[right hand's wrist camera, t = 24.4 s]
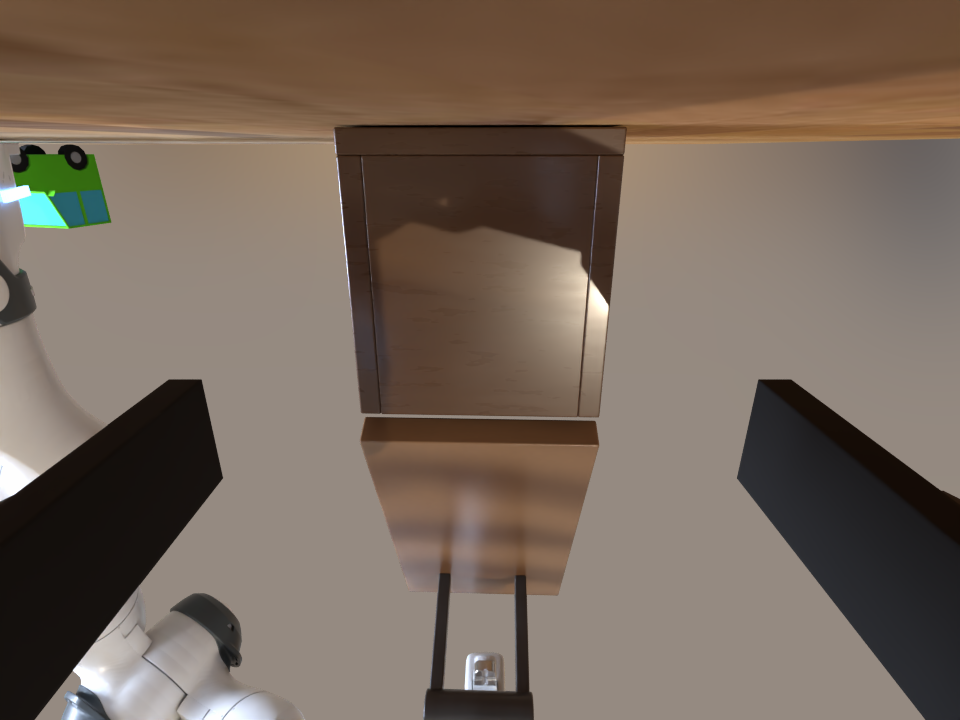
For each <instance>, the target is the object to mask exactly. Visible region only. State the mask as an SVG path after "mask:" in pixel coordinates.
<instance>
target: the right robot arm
mask: <svg viewBox="0 0 960 720" xmlns="http://www.w3.org/2000/svg"><path fill="white" fill-rule="evenodd" d="M222 479H223V476H222V472H221V467H220V462H219V458H218V453H217V448H216V444H215V439H214V435H213V430H212V426H211V421H210V416H209V412H208V407H207V403H206V398H205V393H204V389H203V384H202V380H168V381H166V382H165V383H164V384H162V385H161V386H160V387H158V388H157V389H156V390H154V391H153V392H152V393H150V394H149V395H148V396H146V397H145V398H143V399H142V400H141V401H140V402H138V403H137V404H135V405H134V406H133V407H131V408H130V409H129V410H127V411H126V412H125V413H123V414H122V415H121V416H119V417H118V418H116V419H115V420H114V421H112V422H111V423H110V424H108V425H107V426H106V427H104V428H103V429H102V430H100V431H99V432H98V433H96V434H95V435H94V436H92V437H91V438H90V439H88V440H87V441H86V442H84V443H83V444H81V445H80V446H79V447H77V448H76V449H75V450H73V451H72V452H71V453H69V454H68V455H67V456H65V457H64V458H63V459H61V460H60V461H59V462H57V463H56V464H55V465H53V466H52V467H50V468H49V469H48V470H46V471H45V472H44V473H42V474H41V475H40V476H38V477H37V478H36V479H34V480H33V481H32V482H30V483H29V484H28V485H26V486H25V487H24V488H22V489H21V490H19V491H18V492H17V493H15V494H14V495H12V496H10V497H8V498H6V499H4V500H2V501H0V720H35V718H36V717H37V716H38V715H39V713H40V712H41V711H42V709H43V708H44V707H45V706H46V704H47V703H48V702H49V700H50V699H51V698H52V697H53V695H54V694H55V693H56V691H57V690H58V689H59V688H60V686H61V685H62V684H63V683H64V681H65V680H66V679H67V677H68V676H69V675H70V674H71V672H72V671H73V670H74V668H75V667H76V666H77V665H78V663H79V662H80V661H81V660H82V658H83V657H84V656H85V654H86V653H87V652H88V651H89V649H90V648H91V647H92V645H93V644H94V643H95V642H96V640H97V639H98V638H99V636H100V635H101V634H102V633H103V631H104V630H105V629H106V627H107V626H108V625H109V624H110V622H111V621H112V620H113V618H114V617H115V616H116V615H117V613H118V612H119V611H120V610H121V608H122V607H123V606H124V604H125V603H126V602H127V601H128V599H129V598H130V597H131V595H132V594H133V593H134V592H135V590H136V589H137V588H138V586H139V585H140V584H141V583H142V581H143V580H144V579H145V577H146V576H147V575H148V574H149V572H150V571H151V570H152V568H153V567H154V566H155V565H156V563H157V562H158V561H159V560H160V558H161V557H162V556H163V554H164V553H165V552H166V551H167V549H168V548H169V547H170V545H171V544H172V543H173V542H174V540H175V539H176V538H177V536H178V535H179V534H180V533H181V531H182V530H183V529H184V527H185V526H186V525H187V524H188V522H189V521H190V520H191V519H192V517H193V516H194V515H195V513H196V512H197V511H198V510H199V508H200V507H201V506H202V504H203V503H204V502H205V501H206V499H207V498H208V497H209V495H210V494H211V493H212V492H213V490H214V489H215V488H216V486H217V485H218V484H219V483H220V481H221V480H222ZM737 479H738V480H739V481H740V483H741V484H742V485H743V486H744V488H745V489H746V490H747V492H748V493H749V494H750V495H751V497H752V498H753V499H754V501H755V502H756V503H757V504H758V506H759V507H760V508H761V510H762V511H763V512H764V513H765V515H766V516H767V517H768V518H769V520H770V521H771V522H772V524H773V525H774V526H775V527H776V529H777V530H778V531H779V533H780V534H781V535H782V536H783V538H784V539H785V540H786V542H787V543H788V544H789V545H790V547H791V548H792V549H793V551H794V552H795V553H796V554H797V556H798V557H799V558H800V560H801V561H802V562H803V563H804V565H805V566H806V567H807V568H808V570H809V571H810V572H811V574H812V575H813V576H814V577H815V579H816V580H817V581H818V583H819V584H820V585H821V586H822V588H823V589H824V590H825V592H826V593H827V594H828V595H829V597H830V598H831V599H832V601H833V602H834V603H835V604H836V606H837V607H838V608H839V610H840V611H841V612H842V613H843V615H844V616H845V617H846V618H847V620H848V621H849V622H850V624H851V625H852V626H853V627H854V629H855V630H856V631H857V633H858V634H859V635H860V636H861V638H862V639H863V640H864V641H865V643H866V644H867V645H868V647H869V648H870V649H871V650H872V652H873V653H874V654H875V656H876V657H877V658H878V660H879V661H880V662H881V663H882V665H883V666H884V667H885V668H886V670H887V671H888V672H889V674H890V675H891V676H892V677H893V679H894V680H895V681H896V683H897V684H898V685H899V686H900V688H901V689H902V690H903V692H904V693H905V694H906V695H907V697H908V698H909V699H910V701H911V702H912V703H913V704H914V706H915V707H916V708H917V709H918V711H919V712H920V713H921V714H922V716H923V717H924V718H925V720H960V499H959V498H957V497H955V496H953V495H951V494H949V493H947V492H945V491H941V490H939V489H938V488H936V487H935V486H934V485H932V484H931V483H930V482H928V481H927V480H926V479H924V478H923V477H922V476H920V475H919V474H918V473H916V472H915V471H914V470H912V469H911V468H910V467H908V466H907V465H905V464H904V463H903V462H901V461H900V460H899V459H897V458H896V457H895V456H893V455H892V454H891V453H889V452H888V451H887V450H885V449H884V448H883V447H881V446H880V445H879V444H877V443H876V442H874V441H873V440H872V439H870V438H869V437H868V436H866V435H865V434H864V433H862V432H861V431H860V430H858V429H857V428H856V427H854V426H853V425H852V424H850V423H849V422H847V421H846V420H845V419H843V418H842V417H841V416H839V415H838V414H837V413H835V412H834V411H833V410H831V409H830V408H829V407H827V406H826V405H825V404H823V403H822V402H821V401H819V400H818V399H816V398H815V397H814V396H812V395H811V394H810V393H808V392H807V391H806V390H804V389H803V388H802V387H800V386H799V385H798V384H796V383H795V382H794V381H792V380H758V384H757V389H756V393H755V398H754V403H753V407H752V412H751V416H750V421H749V426H748V430H747V435H746V439H745V444H744V449H743V453H742V458H741V462H740V467H739V471H738V476H737Z"/></svg>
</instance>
